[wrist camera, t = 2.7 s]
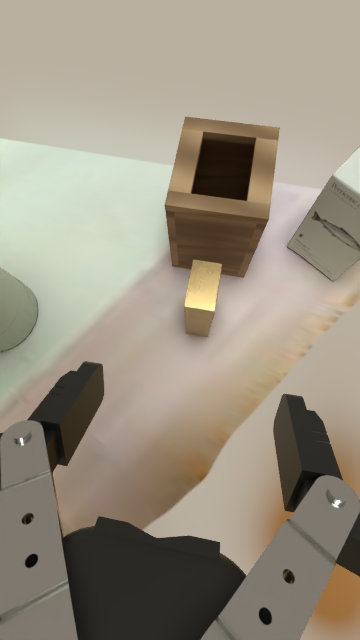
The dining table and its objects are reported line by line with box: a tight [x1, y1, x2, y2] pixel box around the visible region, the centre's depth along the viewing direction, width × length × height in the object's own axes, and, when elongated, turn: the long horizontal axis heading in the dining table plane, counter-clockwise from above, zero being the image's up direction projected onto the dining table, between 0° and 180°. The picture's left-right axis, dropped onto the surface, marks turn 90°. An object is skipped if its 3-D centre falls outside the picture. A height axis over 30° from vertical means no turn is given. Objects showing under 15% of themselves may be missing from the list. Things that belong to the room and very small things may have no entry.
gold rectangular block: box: [184, 260, 222, 337], centre depth 31 cm, size 4×3×10 cm, turn 169°
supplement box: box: [287, 146, 360, 281], centre depth 32 cm, size 7×7×13 cm
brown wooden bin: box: [165, 117, 280, 277], centre depth 33 cm, size 10×9×12 cm
